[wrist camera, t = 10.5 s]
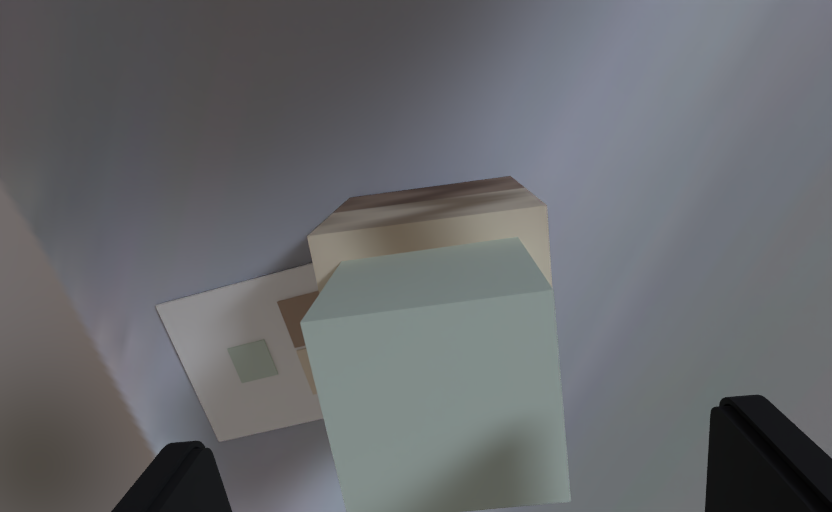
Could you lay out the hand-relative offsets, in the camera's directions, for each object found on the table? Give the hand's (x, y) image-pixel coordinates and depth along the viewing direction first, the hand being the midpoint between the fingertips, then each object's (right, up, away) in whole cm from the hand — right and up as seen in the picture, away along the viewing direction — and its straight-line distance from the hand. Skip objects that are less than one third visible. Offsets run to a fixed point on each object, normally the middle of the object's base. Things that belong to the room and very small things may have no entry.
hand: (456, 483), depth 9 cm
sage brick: (0, +2, +8) cm, 8 cm away
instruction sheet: (-8, -1, +17) cm, 19 cm away
